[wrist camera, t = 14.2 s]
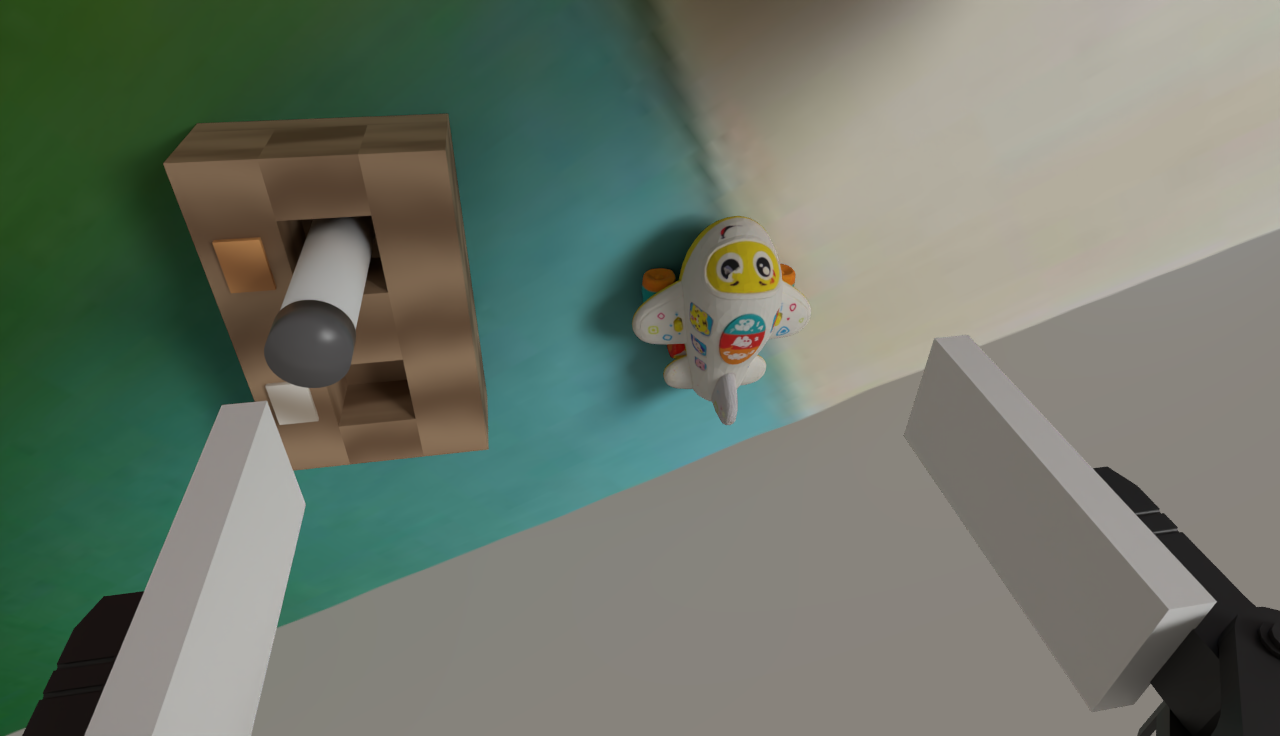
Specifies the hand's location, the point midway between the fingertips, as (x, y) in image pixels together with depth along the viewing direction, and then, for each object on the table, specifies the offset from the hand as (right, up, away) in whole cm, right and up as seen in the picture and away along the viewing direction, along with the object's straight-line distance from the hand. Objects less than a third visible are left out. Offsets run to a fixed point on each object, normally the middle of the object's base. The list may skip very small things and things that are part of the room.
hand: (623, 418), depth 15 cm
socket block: (-18, +7, +35) cm, 40 cm away
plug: (-18, +10, +31) cm, 37 cm away
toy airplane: (+6, +7, +41) cm, 42 cm away
